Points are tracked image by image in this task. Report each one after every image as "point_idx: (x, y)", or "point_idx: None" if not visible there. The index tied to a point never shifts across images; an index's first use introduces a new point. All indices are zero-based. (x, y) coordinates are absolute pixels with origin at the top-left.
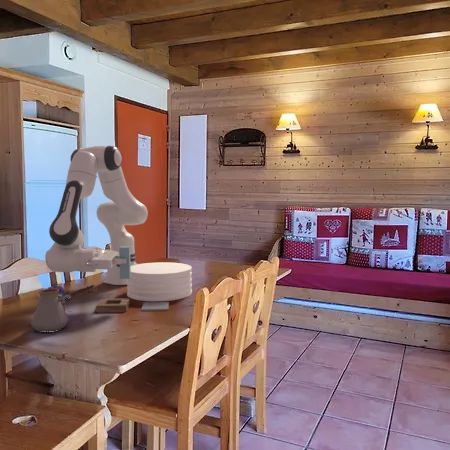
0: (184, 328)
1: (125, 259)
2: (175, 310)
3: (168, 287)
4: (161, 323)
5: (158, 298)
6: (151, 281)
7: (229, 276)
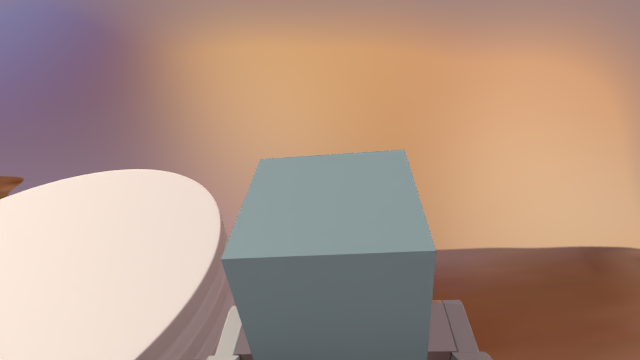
0: (634, 249)
1: (460, 307)
2: None
3: None
4: (618, 319)
5: None
6: (210, 321)
7: (19, 181)
